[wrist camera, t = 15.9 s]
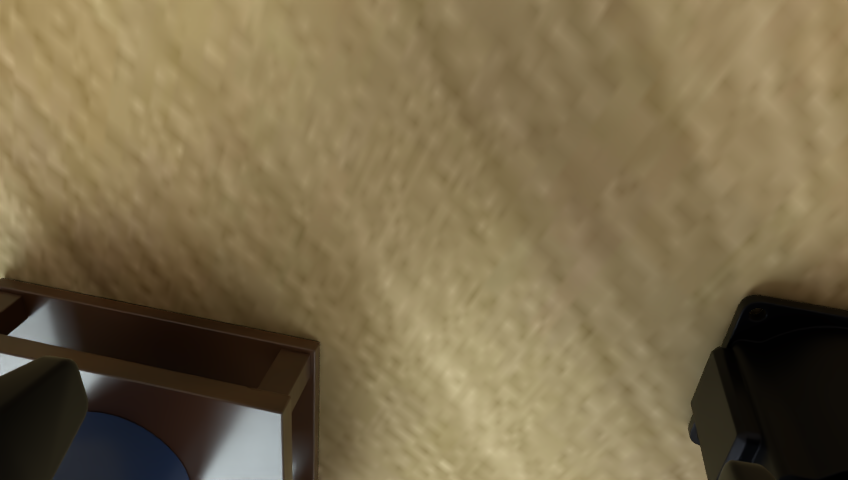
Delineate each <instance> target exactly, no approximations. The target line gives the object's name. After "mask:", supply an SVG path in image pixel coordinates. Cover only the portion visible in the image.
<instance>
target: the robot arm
mask: <svg viewBox="0 0 848 480" xmlns="http://www.w3.org/2000/svg"><path fill="white" fill-rule="evenodd" d="M756 308H761V309H763V310H762V311H761V312H760V313H757V314H751V313H750V312H751V310H753V309H756ZM691 407H692V411H693V416H692V418H691V420H690V423H689V426H688V431H689V435H690V438H691V441H693V442H694V443H695V444H698V445H700V447H701V451H702V456H703V460H704V465H705V469H706V474H707V478H708V480H848V311H846V310H841V309H835V308H829V307H824V306H818V305H813V304H807V303H801V302H796V301H790V300H785V299H779V298H773V297H768V296H762V295H752V296H748V297H746V298H744V299H743V300H742V301H741V302H740V304H739V305H738V308H737V310H736V312H735V315H734V317H733V320H732V322H731V324H730V327H729V329H728V332H727V334H726V336H725V339H724V341H723V344H722V346H721V347H717V348H716V349H715V350H713V351H712V352H711V354H710V357H709V359H708V362H707V364H706V367H705V369H704V371H703V374H702V376H701V379H700V381H699V384H698V386H697V389H696V391H695V393H694V396H693V398H692V401H691ZM87 410H88V397H87V394H86V391H85V387H84V384H83V381H82V378H81V375H80V371H79V368H78V366H77V364H76V363H75V362H74V361H73V360H72V359H69V358H63V357H56V356H42V357H40V358H37V359H35V360H33V361H31V362H29V363H27V364H25V365H23V366H21V367H18V368H16V369H14V370H12V371H10V372H8V373H6V374H4V375H2V376H0V480H52V479H53V477H54V475H55V474H56V472H57V470H58V468H59V466H60V464H61V462H62V460H63V458H64V457H65V455H66V453H67V451H68V449H69V447H70V445H71V443H72V441H73V439H74V438H75V436H76V434H77V432H78V430H79V428H80V426H81V424H82V422H83V421H84V419H85V416H86V414H87Z"/></svg>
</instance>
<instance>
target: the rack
mask: <svg viewBox="0 0 848 480" xmlns="http://www.w3.org/2000/svg"><path fill="white" fill-rule="evenodd" d="M42 356H56V357H63V358H69V359H72V360H73V361H74V362H75V363H76V364H77V366H78V368H79V371H80V375H81V378H82V381H83V384H84V387H85V391H86V394H87V397H88V410H87V412H100V413H106V414H110V415H114V416H118V417H120V418H123V419H126V420H128V421H131V422H133V423H135V424H137V425H139V426H141V427H143V428H144V429H146V430H148V431H149V432H151V433H152V434H154V435H155V436H156V437H158V438H159V439H160V440H162V441H163V442H164V443H165V444H166V445H167V446H168V447H169V448H170V449H171V450H172V451H173V452H174V453H175V454H176V456H177V457H178V458H179V460H180V461H181V462H182V464H183V466H184V468H185V469H186V472H187V474H188V476H189V480H318V442H319V371H320V342H317V341H312V340H307V339H302V338H297V337H292V336H287V335H282V334H277V333H272V332H267V331H262V330H258V329H253V328H248V327H243V326H238V325H233V324H228V323H223V322H218V321H213V320H208V319H203V318H198V317H193V316H188V315H183V314H178V313H174V312H169V311H164V310H159V309H154V308H149V307H144V306H139V305H134V304H129V303H124V302H119V301H114V300H109V299H104V298H99V297H95V296H90V295H85V294H80V293H75V292H70V291H65V290H60V289H55V288H50V287H45V286H40V285H35V284H30V283H25V282H20V281H16V280H11V279H6V278H1V279H0V376H2V375H4V374H6V373H8V372H10V371H12V370H14V369H16V368H18V367H21V366H23V365H25V364H27V363H29V362H31V361H33V360H35V359H37V358H40V357H42Z"/></svg>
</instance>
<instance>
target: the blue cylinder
mask: <svg viewBox="0 0 848 480" xmlns="http://www.w3.org/2000/svg"><path fill="white" fill-rule="evenodd" d="M52 480H189V476H188V474H187V472H186V469H185V468H184V466H183V464H182V462H181V461H180V460H179V458H178V457H177V456H176V454H175V453H174V452H173V451H172V450H171V449H170V448H169V447H168V446H167V445H166V444H165V443H164V442H163V441H162V440H160V439H159V438H158V437H156V436H155V435H154V434H152V433H151V432H149V431H148V430H146V429H144V428H143V427H141V426H139V425H137V424H135V423H133V422H131V421H128V420H126V419H123V418H120V417H118V416H114V415H110V414H106V413H100V412H87V414H86V416H85V419H84V421H83V422H82V424H81V426H80V428H79V430H78V432H77V434H76V436H75V438H74V439H73V441H72V443H71V445H70V447H69V449H68V451H67V453H66V455H65V457H64V458H63V460H62V462H61V464H60V466H59V468H58V470H57V472H56V474H55V475H54V477H53V479H52Z"/></svg>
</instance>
